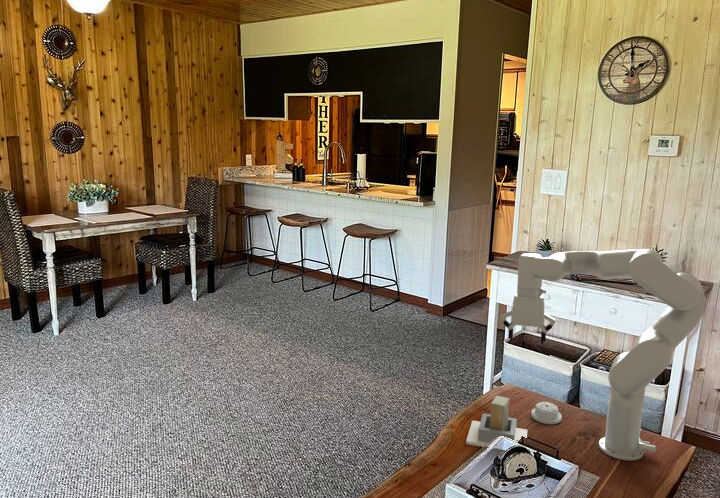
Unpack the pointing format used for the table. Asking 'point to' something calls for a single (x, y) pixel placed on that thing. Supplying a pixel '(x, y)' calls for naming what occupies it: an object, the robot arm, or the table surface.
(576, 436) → the table surface
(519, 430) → the square socket base
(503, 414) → the skincare box
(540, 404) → the mechanical component
